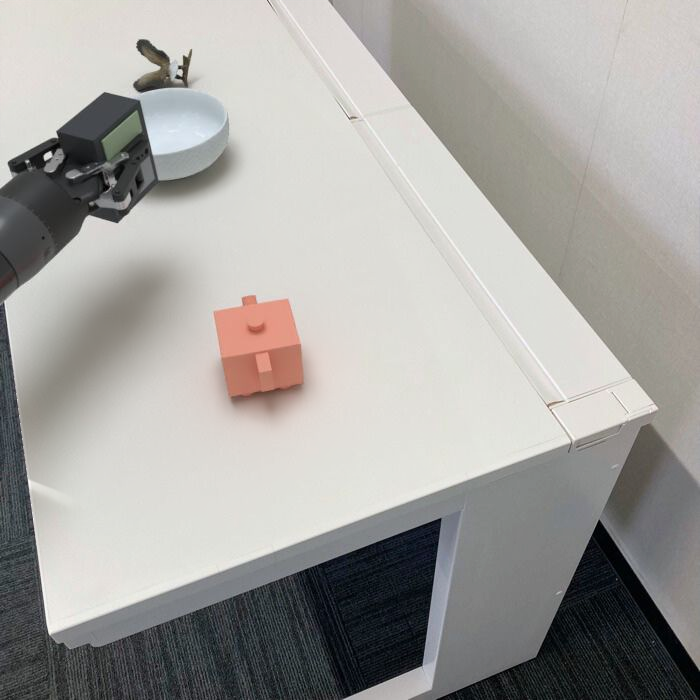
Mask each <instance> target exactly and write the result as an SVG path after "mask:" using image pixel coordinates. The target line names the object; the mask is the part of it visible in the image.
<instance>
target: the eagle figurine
mask: <svg viewBox="0 0 700 700" xmlns="http://www.w3.org/2000/svg"><path fill="white" fill-rule="evenodd" d="M135 48H136V49H137V51H138V52H139V53H140V55H141V56H143V57H144V58H146V60H147V61H148V62H150V63H151V64H153V65H156V66H158V67H160V68H159V69H158V70H155V71H151V72H147V73H145V74H143V75H142V76H140V78H137V80H135V81H134V82H133V83H132V87H134V89H135V90H136V91H138V90H140V91H141V90H144V89H146V88H149V87H158V86H161V85H163V84H164V83H165V81H167V78H169V77H170V78H169V79H170V81H171V82H173V81H174V80H175V79H176V80H179V81H182V83H183V85H184V86H185V88H188V86H189V84H188V77H189V76H188V75H189V69H190V65H191V60H192V56H193V48H190V49H189V52H188V53H187V56H186V55H184V54H183V55H182V64H181V65H180V64H179V63H178V61H177V59H174V60H173V61H172V62H171V59H170V56H169V55H168V54H167V53H166V52H165V51H164V50H162V49H158V48H156V46H154V44H153V43H152V42H151V41H150V39H149V40H148V39H145V38H140V39H138V40H137V41H136V45H135ZM179 70H181V71H182V74H181V75H179V74H178V72H179Z"/></svg>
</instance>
